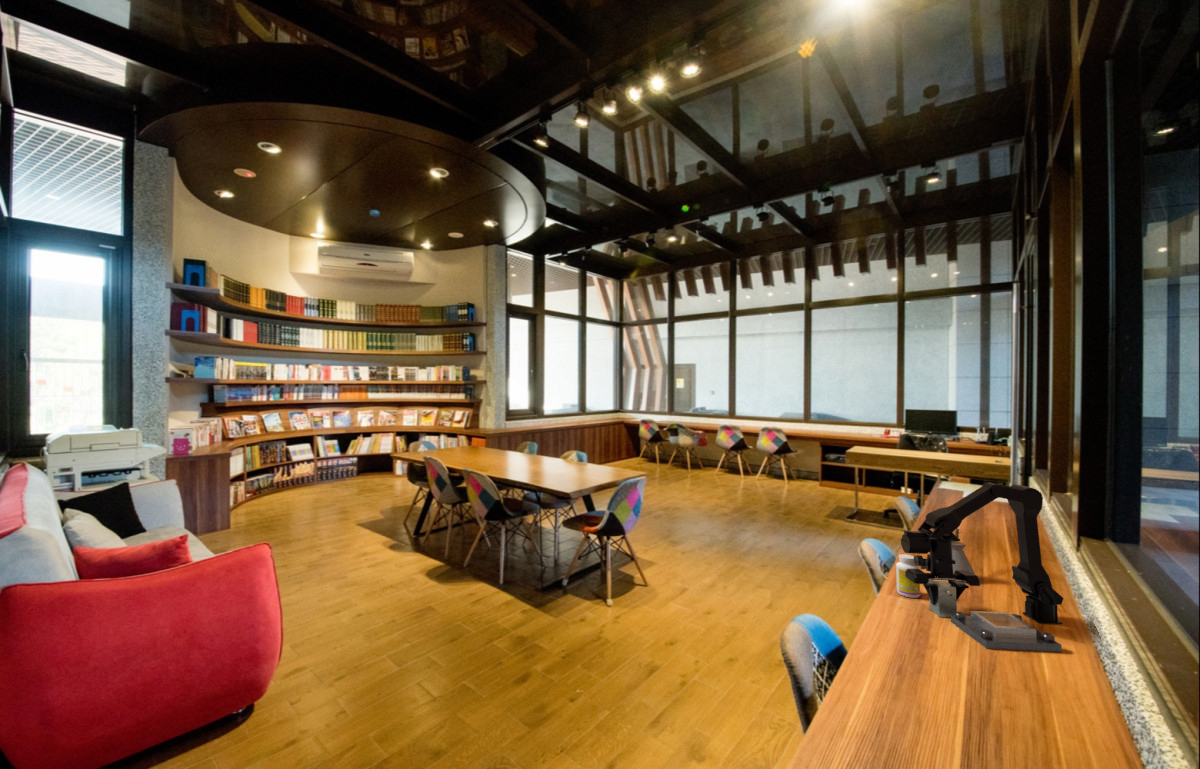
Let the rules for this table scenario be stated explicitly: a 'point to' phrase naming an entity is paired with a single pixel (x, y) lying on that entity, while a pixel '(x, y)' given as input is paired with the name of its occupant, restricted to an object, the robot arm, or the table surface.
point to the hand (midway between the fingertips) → (942, 605)
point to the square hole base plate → (1004, 632)
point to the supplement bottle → (903, 583)
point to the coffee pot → (960, 556)
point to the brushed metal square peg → (944, 599)
